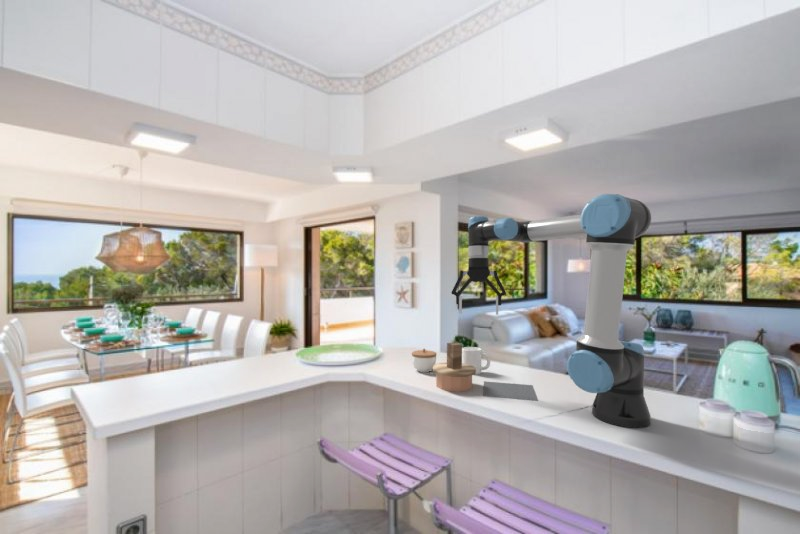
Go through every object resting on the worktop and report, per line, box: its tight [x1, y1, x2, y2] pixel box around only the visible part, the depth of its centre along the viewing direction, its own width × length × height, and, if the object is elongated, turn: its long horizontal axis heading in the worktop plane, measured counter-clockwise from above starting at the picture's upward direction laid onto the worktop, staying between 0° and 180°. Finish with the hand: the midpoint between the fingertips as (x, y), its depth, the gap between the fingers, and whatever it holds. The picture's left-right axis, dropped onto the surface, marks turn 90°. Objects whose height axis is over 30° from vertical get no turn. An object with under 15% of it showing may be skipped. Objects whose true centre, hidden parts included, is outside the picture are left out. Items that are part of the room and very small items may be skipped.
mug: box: [462, 346, 491, 375], centre depth 161 cm, size 12×8×10 cm
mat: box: [482, 380, 539, 402], centre depth 136 cm, size 18×18×1 cm
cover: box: [432, 341, 476, 377], centre depth 141 cm, size 16×16×10 cm
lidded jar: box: [411, 348, 437, 373], centre depth 164 cm, size 11×11×9 cm
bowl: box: [435, 373, 473, 392], centre depth 141 cm, size 13×13×6 cm
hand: (478, 313), depth 142 cm, fingers open, 13 cm apart
